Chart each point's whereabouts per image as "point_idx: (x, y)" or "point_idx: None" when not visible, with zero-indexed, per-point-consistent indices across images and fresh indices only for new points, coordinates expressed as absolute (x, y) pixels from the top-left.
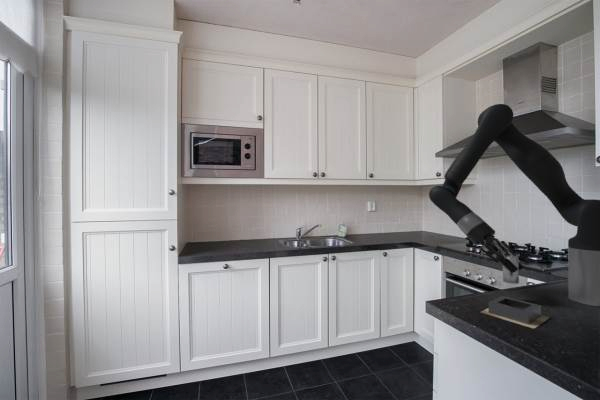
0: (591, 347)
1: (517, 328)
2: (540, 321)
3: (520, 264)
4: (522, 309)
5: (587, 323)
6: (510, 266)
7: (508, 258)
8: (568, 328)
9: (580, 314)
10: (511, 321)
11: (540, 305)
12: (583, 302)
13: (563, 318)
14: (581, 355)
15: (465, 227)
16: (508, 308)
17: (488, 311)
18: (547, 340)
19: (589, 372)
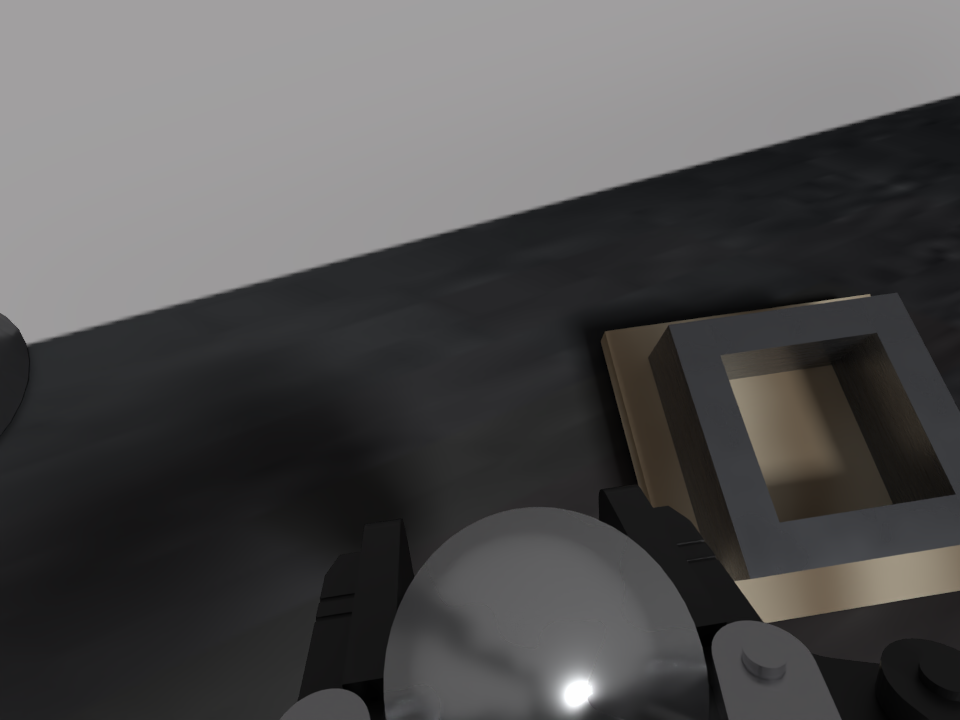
0: (731, 162)
1: None
2: None
3: (398, 550)
4: (882, 336)
5: (429, 258)
6: (702, 553)
7: (688, 627)
8: (603, 269)
9: (292, 323)
10: None
11: (670, 326)
12: (17, 384)
13: (464, 336)
14: (849, 153)
15: None
16: (945, 399)
17: (935, 558)
18: (858, 252)
19: (950, 106)
